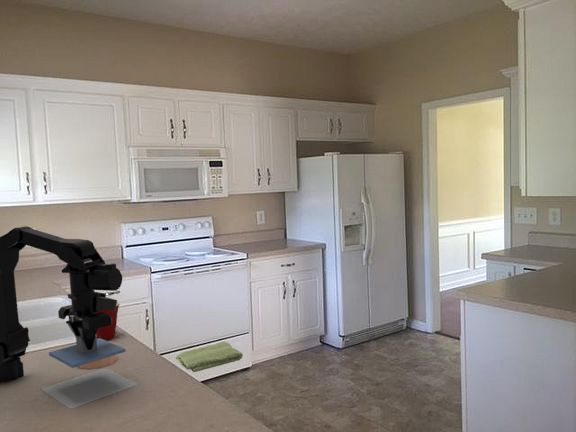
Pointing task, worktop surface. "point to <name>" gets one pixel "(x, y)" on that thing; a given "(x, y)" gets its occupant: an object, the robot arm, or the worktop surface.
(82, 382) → the mat
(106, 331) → the plastic cup
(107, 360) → the bowl
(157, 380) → the worktop surface
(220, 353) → the washcloth
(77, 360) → the cover sheet
